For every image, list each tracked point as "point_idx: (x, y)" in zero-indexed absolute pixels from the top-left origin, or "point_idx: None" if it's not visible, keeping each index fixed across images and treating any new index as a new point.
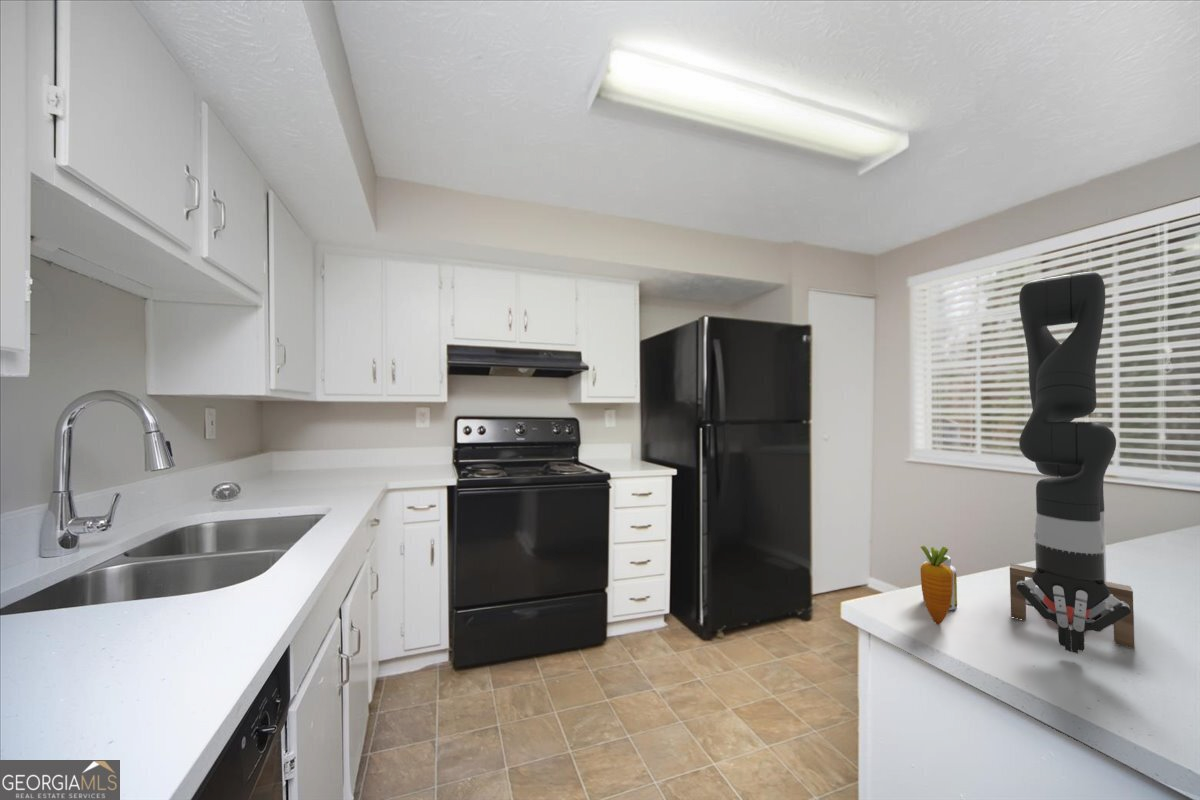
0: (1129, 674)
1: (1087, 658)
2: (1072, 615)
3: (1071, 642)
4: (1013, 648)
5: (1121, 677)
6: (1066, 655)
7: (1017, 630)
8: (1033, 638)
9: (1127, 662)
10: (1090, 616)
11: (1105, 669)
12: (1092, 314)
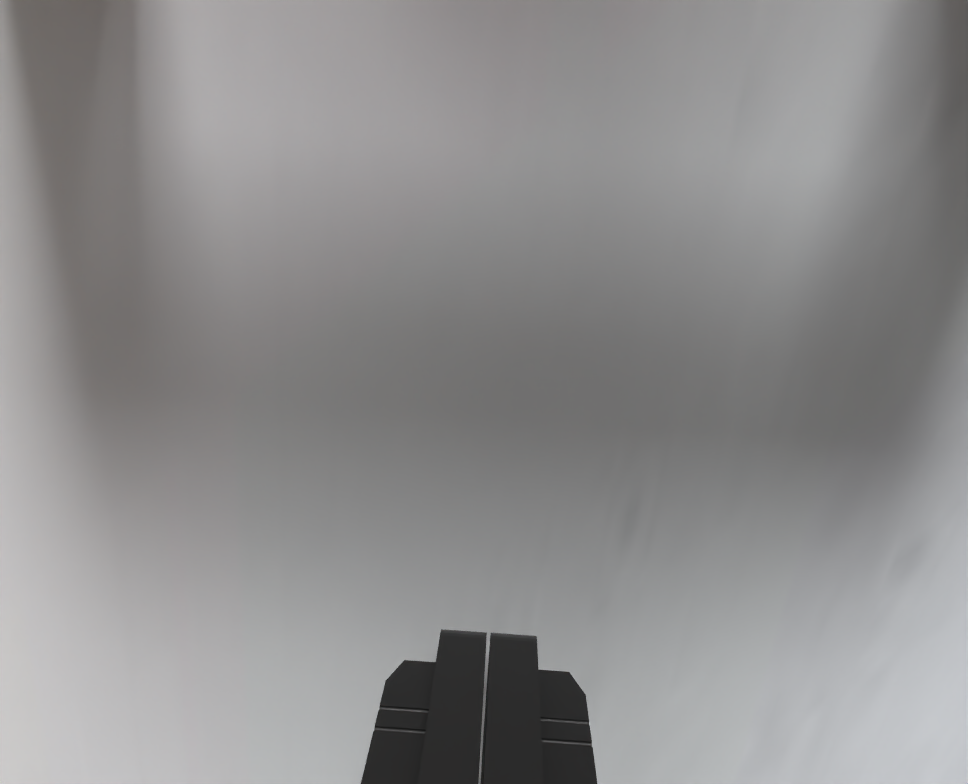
0: (837, 623)
1: (604, 519)
2: None
3: (482, 765)
4: (117, 708)
5: (764, 714)
6: (460, 572)
7: (93, 255)
8: (230, 369)
9: (903, 373)
10: None
11: (690, 647)
12: None
